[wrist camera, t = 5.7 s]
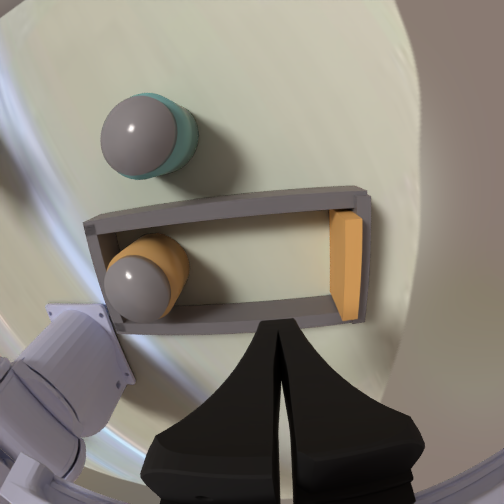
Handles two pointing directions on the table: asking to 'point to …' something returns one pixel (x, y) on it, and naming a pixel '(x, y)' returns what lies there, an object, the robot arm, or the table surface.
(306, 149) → the table surface
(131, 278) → the amber jar
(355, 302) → the plate
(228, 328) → the grey rectangular tray
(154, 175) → the teal jar
